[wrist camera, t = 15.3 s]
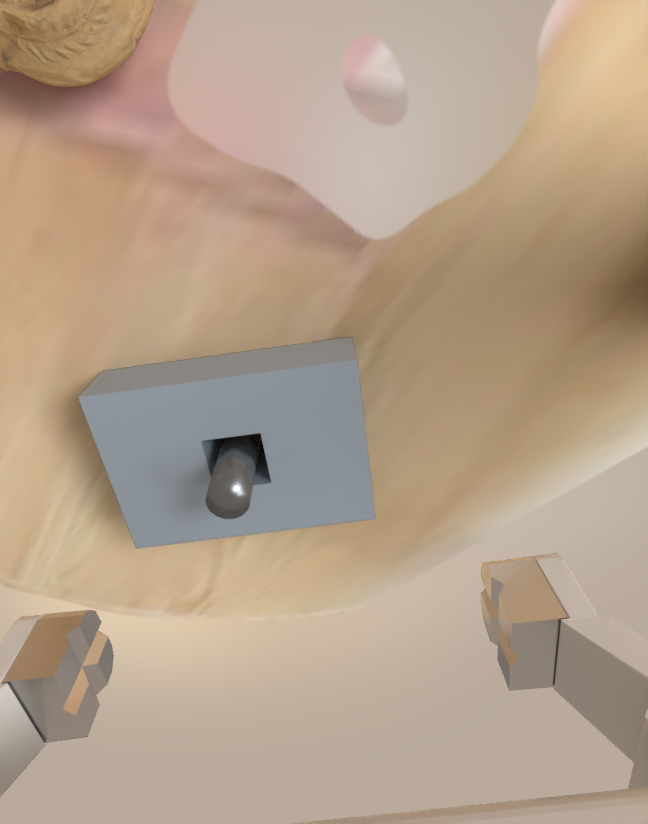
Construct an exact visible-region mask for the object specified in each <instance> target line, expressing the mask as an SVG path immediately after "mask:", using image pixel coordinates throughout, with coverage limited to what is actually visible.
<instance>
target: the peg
mask: <svg viewBox="0 0 648 824" xmlns="http://www.w3.org/2000/svg"><path fill="white" fill-rule="evenodd" d="M260 441H261V433H258V434H250V435H242V436H235V437H227V438H223V441H222V444H221V448H220V451H219V454H218V458H217V461H216V464H215V468H214V471H213V474H212V478H211V481H210V484H209V488H208V491H207V494H206V499H205V502H206V505H207V508H208V509H209V511H210V512H211V513H213V514H214V515H215V516H217V517H220V518H223V519H235V518H238V517H241V516H242V515H244V514H245V513H246V512H247V510H248V509H249V506H250V500H251V494H252V488H253V482H254V477H255V471H256V465H257V459H258V453H259V447H260Z"/></svg>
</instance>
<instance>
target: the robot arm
mask: <svg viewBox="0 0 648 824" xmlns="http://www.w3.org/2000/svg"><path fill="white" fill-rule="evenodd" d="M481 578H482V580H483V583H484V585H485V589H484V590H483V592H482V593H481V602H482V612H483V618H484V622H485V626H486V629H487V632H488V635H489V638H490V640H491V641H492V642H493V643H494V644H496V645H497V646H498V662H499V665H500V667H501V670H502V673H503V675H504V678H505V681H506V683H507V686H508V688H509V690H522V689H535V688H547V687H554V690H555V691H557V692H558V693H559V694H560V695H561V696H562V697H563V698H564V699H565V700H566V701H567V702H569V703H570V704H571V705H572V706H573V707H574V708H575V709H576V710H577V711H578V712H579V713H581V714H582V715H583V716H584V717H585V718H586V719H587V720H588V721H589V722H590V723H591V724H593V725H594V726H595V727H596V728H597V729H598V730H599V731H600V732H601V733H602V734H604V736H606V737H607V738H608V739H609V740H610V741H611V742H612V743H613V744H615V746H617V747H618V748H619V749H620V750H621V751H622V752H623V753H624V754H625V755H626V756H627V757H628V758H629V759H631V760H632V761H633V762H634V766H633V770H632V774H631V779H630V783H629V787H628V789H625V790H615V791H605V792H595V793H585V794H576V795H566V796H556V797H546V798H537V799H528V800H517V801H507V802H497V803H488V804H479V805H470V806H458V807H449V808H439V809H430V810H419V811H410V812H400V813H390V814H380V815H371V816H362V817H351V818H341V819H332V820H322V821H312V822H304V823H293V824H648V640H647V639H645V638H644V637H642V636H640V635H639V634H637V633H635V632H634V631H632V630H631V629H629V628H627V627H626V626H624V625H622V624H621V623H619V622H617V621H616V620H614V619H612V618H611V617H609V616H607V615H598V614H597V613H596V611H595V609H594V608H593V606H592V605H591V603H590V602H589V600H588V598H587V597H586V595H585V594H584V592H583V590H582V589H581V587H580V586H579V584H578V582H577V581H576V580H575V578H574V576H573V574H572V573H571V571H570V570H569V569H568V567H567V565H566V563H565V562H564V560H563V559H562V557H561V556H560V555H558V554H557V553H553V554H546V555H539V556H532V557H524V558H516V559H508V560H500V561H493V562H485V563H483V564H482V567H481ZM100 624H101V620H100V619H99V617H98V615H97V613H96V611H92V610H85V611H74V612H63V613H53V614H45V615H36V616H26V617H21V618H20V619H18V620H17V621H15V622H14V624H13V625H12V627H11V629H10V630H9V632H8V633H7V635H6V636H5V638H4V640H3V641H2V643H1V644H0V797H1V796H2V795H3V793H4V792H5V791H6V790H7V789H8V788H9V787H10V786H11V784H12V783H13V782H14V781H15V780H16V779H17V778H18V776H19V775H20V774H21V773H22V772H23V771H24V769H25V768H26V767H27V766H28V765H29V764H30V763H31V761H32V760H33V759H34V758H35V757H36V756H37V755H38V753H39V752H40V751H41V750H42V749H43V748H44V747H45V743H48V742H54V741H62V740H69V739H76V738H83V737H87V736H88V734H89V731H90V729H91V726H92V723H93V721H94V718H95V715H96V713H97V710H98V708H99V702H98V699H97V696H96V695H97V694H98V693H99V692H100V691H101V690H102V689H103V688H104V687H105V686H106V685H107V684H108V681H109V678H110V675H111V672H112V666H113V650H112V645H111V643H110V640H109V638H108V637H107V636H106V635H104V634H103V633H101V632H100V631H98V628H99V626H100Z"/></svg>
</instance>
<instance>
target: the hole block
mask: <svg viewBox="0 0 648 824" xmlns="http://www.w3.org/2000/svg"><path fill="white" fill-rule="evenodd" d="M78 399H79V402H80V404H81V407H82V410H83V412H84V415H85V417H86V420H87V423H88V425H89V428H90V430H91V433H92V436H93V438H94V441H95V443H96V446H97V449H98V451H99V454H100V456H101V459H102V461H103V464H104V467H105V469H106V472H107V474H108V477H109V480H110V482H111V485H112V487H113V490H114V493H115V495H116V498H117V500H118V503H119V506H120V508H121V511H122V513H123V516H124V519H125V521H126V524H127V526H128V529H129V532H130V534H131V537H132V539H133V542H134V545H135V547H136V549H137V548H145V547H153V546H161V545H169V544H177V543H185V542H193V541H202V540H210V539H218V538H226V537H234V536H242V535H250V534H258V533H266V532H274V531H282V530H290V529H298V528H307V527H315V526H323V525H331V524H339V523H347V522H355V521H363V520H371V519H375V510H374V501H373V493H372V484H371V475H370V466H369V457H368V449H367V440H366V431H365V422H364V414H363V405H362V396H361V387H360V378H359V370H358V361H357V356H356V351H355V347H354V343H353V338H352V337H345V338H338V339H331V340H324V341H316V342H309V343H302V344H295V345H287V346H280V347H273V348H265V349H258V350H251V351H244V352H236V353H229V354H222V355H215V356H207V357H200V358H193V359H186V360H178V361H171V362H164V363H156V364H149V365H142V366H135V367H127V368H120V369H113V370H106V371H102V372H101V373H100V374H99V375H98V376H97V378H96V379H95V380H94V381H93V382H92V383H91V384H90V385H89V386H88V387H87V388H86V389H85V390H84V392H83V393H82V394H81V395H80V396H79V397H78ZM258 433H261V438H262V443H263V447H264V452H259V453H258V459H257V465H256V471H255V477H254V482H253V488H252V494H251V500H250V506H249V509H248V510H247V512H246V513H245V514H244V515H242V516H241V517H238V518H235V519H223V518H220V517H217V516H215V515H214V514H213V513H211V512H210V511H209V509H208V508H207V505H206V502H205V499H206V494H207V491H208V488H209V484H210V481H211V478H212V474H213V471H214V468H215V464H216V461H217V458H218V454H219V451H220V448H221V443H220V438H227V437H235V436H242V435H250V434H258Z"/></svg>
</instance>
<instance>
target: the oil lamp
mask: <svg viewBox="0 0 648 824" xmlns="http://www.w3.org/2000/svg"><path fill="white" fill-rule="evenodd" d="M153 4H154V0H0V68H1V69H2V70H4V71H6V72H7V71H9V70H12V71H16V72H19V73H22V74H24V75H26V76H28V77H30V78H32V79H35V80H37V81H40V82H42V83H45V84H48V85H52V86H58V87H75V86H83V85H88V84H90V83H93V82H95V81H97V80H99V79H101V78H103V77H105V76H106V75H108V74H109V73H111V72H112V71H113V70H114V69H116V68H118V67H119V66H120V65H122V64H123V63H124V62H125V61H126V60H127V59H128V58H129V57H130V55H131V54H132V53H133V51H134V50H135V48H136V46H137V44H138V43H139V41H140V39H141V37H142V35H143V33H144V31H145V29H146V26H147V24H148V22H149V19H150V16H151V13H152V9H153Z"/></svg>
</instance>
